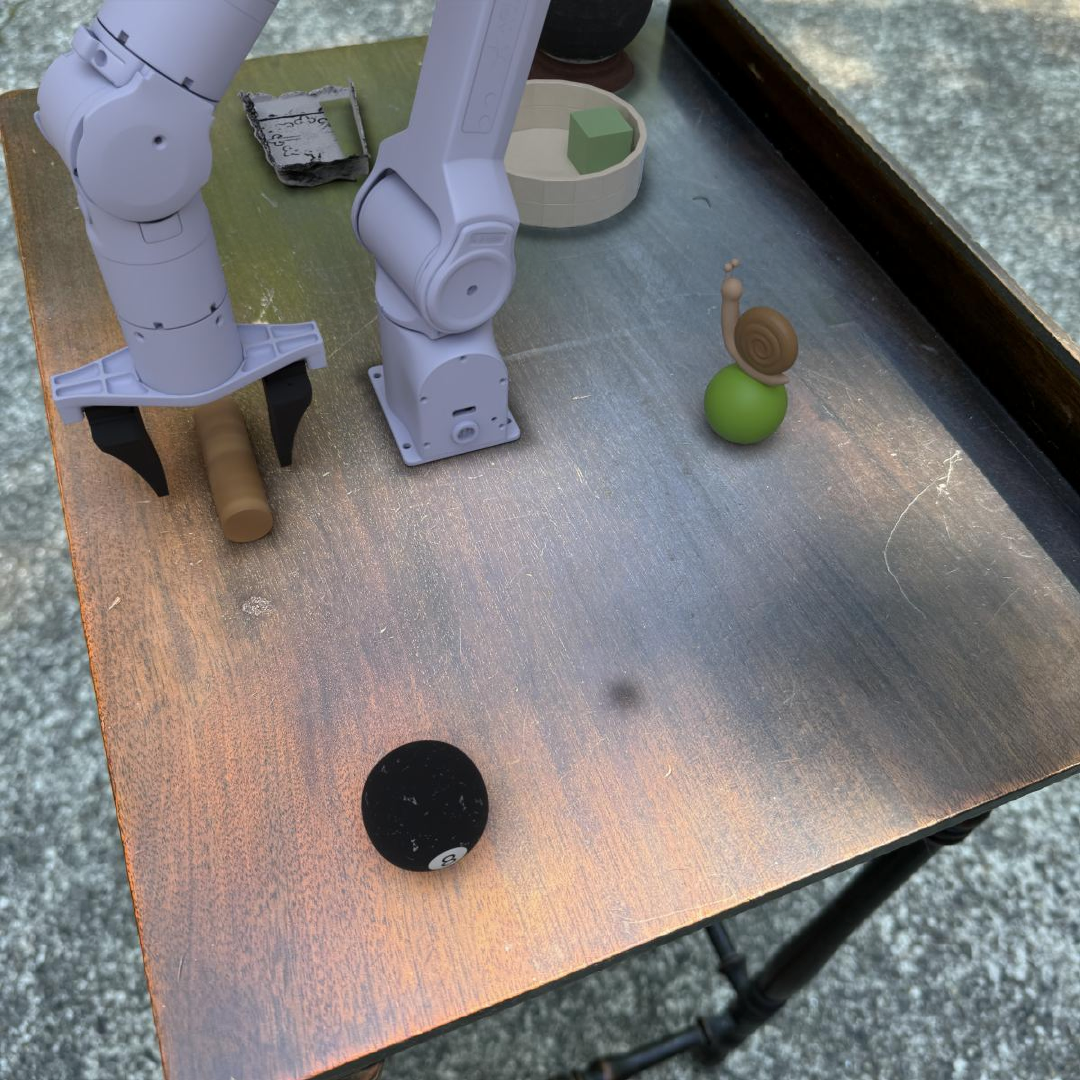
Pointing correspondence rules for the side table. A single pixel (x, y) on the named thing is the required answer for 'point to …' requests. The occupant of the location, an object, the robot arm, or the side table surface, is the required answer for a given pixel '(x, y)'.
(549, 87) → the bowl
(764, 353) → the snail figurine
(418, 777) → the billiard ball
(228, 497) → the brown wooden cylinder
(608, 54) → the snow globe
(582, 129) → the green block
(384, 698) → the side table surface
